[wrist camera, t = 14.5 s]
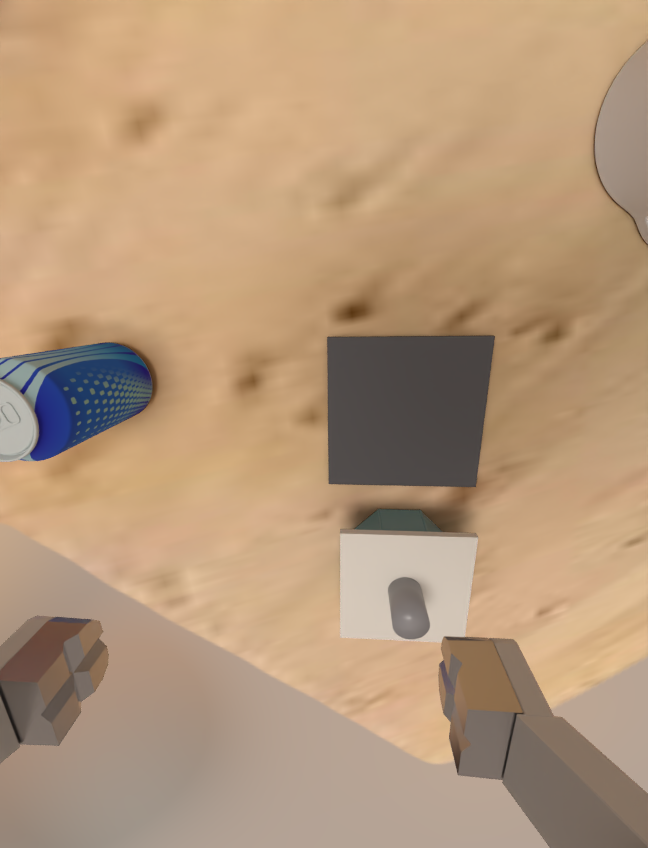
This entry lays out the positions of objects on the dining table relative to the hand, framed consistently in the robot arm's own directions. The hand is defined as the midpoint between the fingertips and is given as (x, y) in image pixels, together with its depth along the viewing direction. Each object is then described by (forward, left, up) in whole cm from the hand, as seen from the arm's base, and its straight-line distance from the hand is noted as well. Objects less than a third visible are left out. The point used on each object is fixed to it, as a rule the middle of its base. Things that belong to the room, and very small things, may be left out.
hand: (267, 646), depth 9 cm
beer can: (+24, 0, -33) cm, 41 cm away
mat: (-8, +4, -33) cm, 34 cm away
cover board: (-8, +22, -27) cm, 36 cm away
